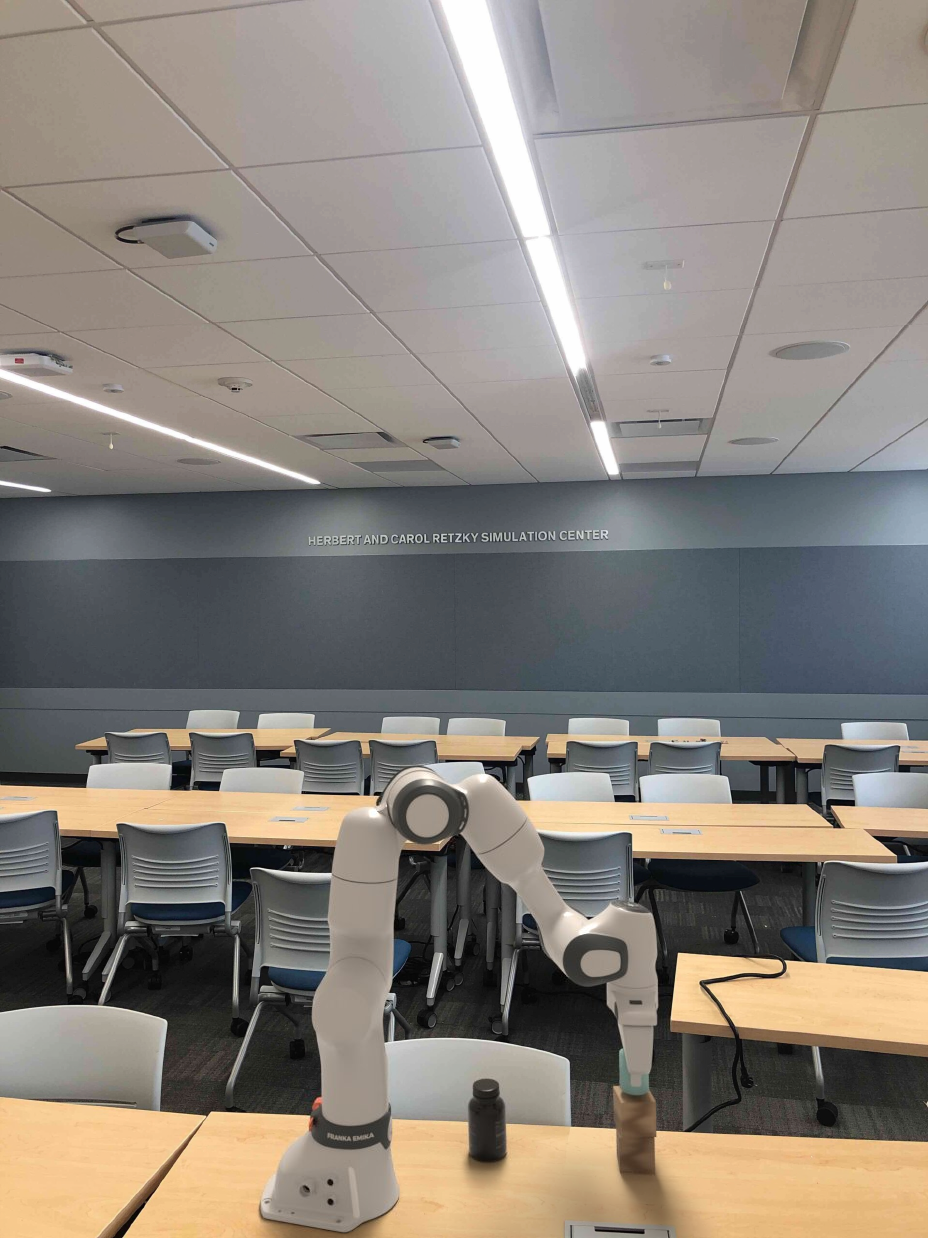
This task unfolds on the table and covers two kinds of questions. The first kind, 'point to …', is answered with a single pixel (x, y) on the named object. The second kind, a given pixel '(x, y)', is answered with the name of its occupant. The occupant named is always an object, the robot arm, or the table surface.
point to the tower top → (634, 1114)
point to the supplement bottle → (487, 1122)
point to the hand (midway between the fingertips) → (633, 1076)
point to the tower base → (635, 1155)
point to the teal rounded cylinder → (625, 1078)
